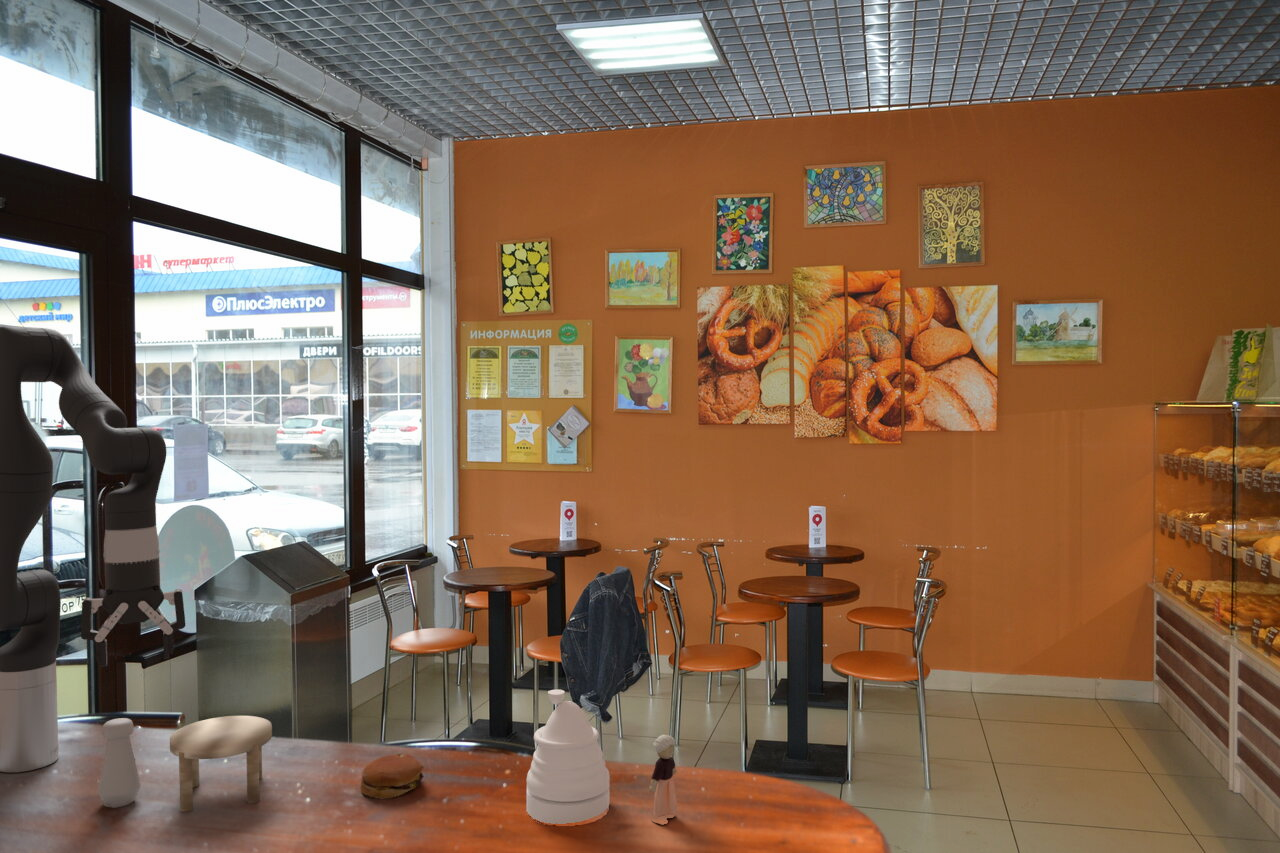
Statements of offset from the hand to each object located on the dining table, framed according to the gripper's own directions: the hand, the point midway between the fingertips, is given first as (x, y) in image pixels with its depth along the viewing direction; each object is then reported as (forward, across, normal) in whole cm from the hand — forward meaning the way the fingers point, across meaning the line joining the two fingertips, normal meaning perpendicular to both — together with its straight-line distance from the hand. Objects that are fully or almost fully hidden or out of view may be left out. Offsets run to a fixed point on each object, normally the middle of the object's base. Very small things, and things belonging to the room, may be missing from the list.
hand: (135, 661), depth 150 cm
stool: (+23, -12, 0) cm, 26 cm away
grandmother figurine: (+25, -72, +39) cm, 85 cm away
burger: (+24, -37, +9) cm, 45 cm away
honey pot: (+25, -60, +29) cm, 71 cm away
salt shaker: (+23, +3, -3) cm, 23 cm away
